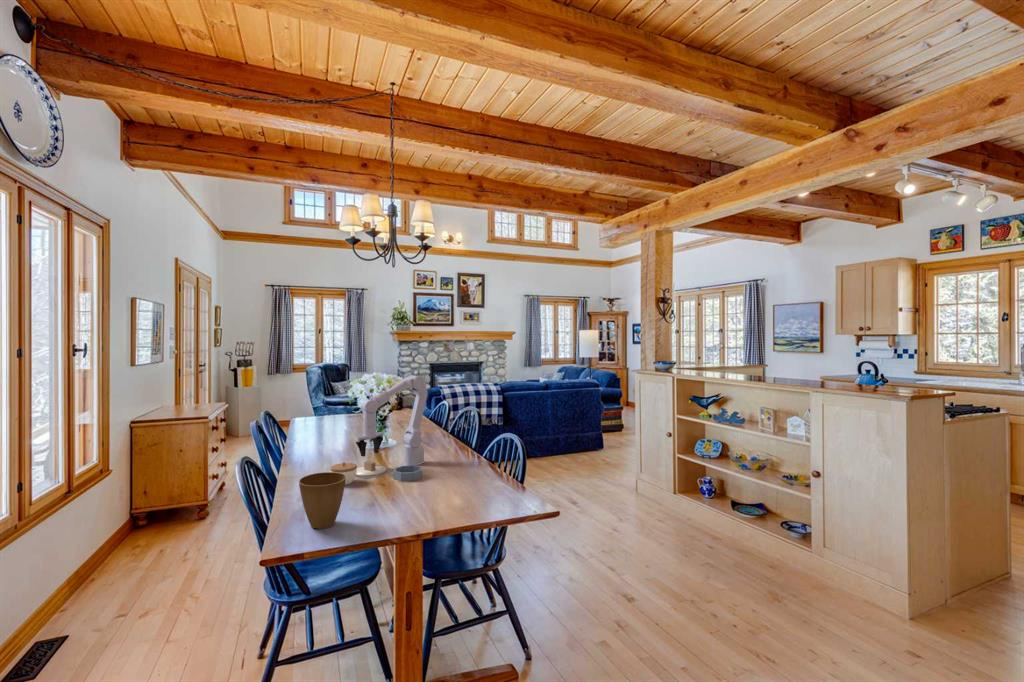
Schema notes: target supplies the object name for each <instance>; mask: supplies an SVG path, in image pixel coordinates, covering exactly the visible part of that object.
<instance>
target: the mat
mask: <svg viewBox="0 0 1024 682" xmlns="http://www.w3.org/2000/svg"><path fill="white" fill-rule="evenodd" d="M375 466H380V465H379V464H375ZM384 467H385V468H386V472H384V473H382V474H378V475H373V476H358V475H356V477H355V478H360V479H363V480H370V479H373V478H376V477H380V476H383V475H386V474H389V473H394V468H392V467H387V466H384Z"/></svg>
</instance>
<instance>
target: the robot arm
mask: <svg viewBox="0 0 1024 682" xmlns="http://www.w3.org/2000/svg"><path fill="white" fill-rule="evenodd" d="M405 389H411V391H413V393H414V394H415V398H414V403H413V406H412V407H413V408H412V412H411V415H410V416H411V417H410V420H409V424H408V427H406V429H405V431H404V433H403V434H402V438H401V440H402V443H404V448H403V451H404V453H403V454H404V456H403V457H404V461H403V463H400V466H408V465H415V466H416V465H417V466H420V465H423V464H422V462H425V450H424V447H423V446H422V445H421V444H422V431H421V424H422V419H423V416H424V412H425V406H426V403H427V398H428V388H427V380H426V379H425V378H424V377H423V376H422V375H421V376H420V375H414V374H410V375H408V376H406V377H403V379H401V380H400V381H398V382H397V383H396V384H394V385H392V386H391V387H390V388H389V389H387V390H384V389H383V390H379V391H378V393H376V394H374V395H373V396H370V397H369V398H368V399H365V400H363V402H362V403H361V406H360V407H361V410H362V413H363V416H362V417H363V418H362V419H363V420H362V422H363V423H362V424H363V427H362V428H363V429H362V431H363V433H362V435H359V436H356V437H355V444H356V446H357V447H358V451H359V453H360V456H361V457H364V458H365V457H366V448H367V445H368V442H367V440H368V441H369V440H371V439H372V444H373V453H375V454H379V452H380V448H381V444H382V442H383V441H384V432H381V431H378V432H377V411H378V409H379V408H380V407H382V406H384V405H385V404H386V403H388V402H390V400H391V398H392V396H395V395H396V394H397V393H399V392H402V391H403V390H405ZM419 463H420V465H419Z"/></svg>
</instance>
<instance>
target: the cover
mask: <svg viewBox="0 0 1024 682" xmlns="http://www.w3.org/2000/svg"><path fill="white" fill-rule="evenodd" d="M375 465H376V462H375V461H369V460H368V461H364V462H363V466H361V467H357V472H356V475H358V476H373V475H378V474H382V473H384V472H386V468H385V467H386V466H384V465H379V466H375Z"/></svg>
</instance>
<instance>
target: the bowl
mask: <svg viewBox="0 0 1024 682" xmlns="http://www.w3.org/2000/svg"><path fill="white" fill-rule="evenodd" d="M393 469H394V471H393V480H395V481H398V482H400V481H401V482H400V483H406V482H405V481H410V482H415V481H414V480H416V481H418V480H417V479H419V478H421V479H422V477H423V476H422V475H423V474H422V473H423V472H422V471H423V470H422V466H420V465H417V466H415V465H408V466H404V465H400V466H397V467H394V468H393ZM419 480H420V479H419Z"/></svg>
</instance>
